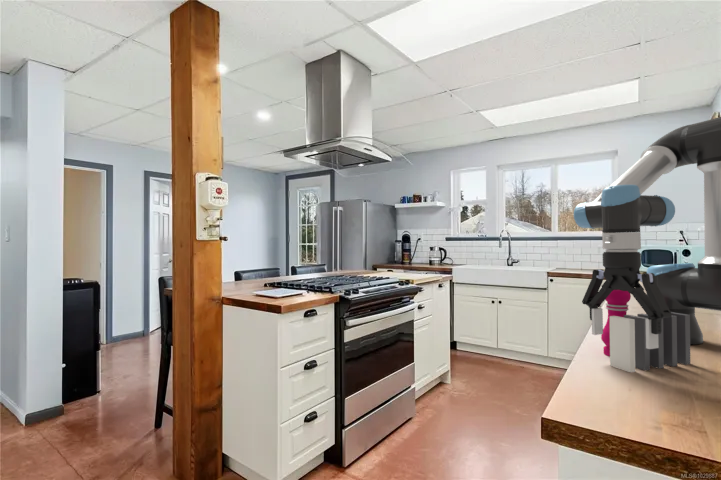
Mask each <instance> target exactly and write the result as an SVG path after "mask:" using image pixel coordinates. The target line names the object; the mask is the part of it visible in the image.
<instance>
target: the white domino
mask: <svg viewBox="0 0 721 480" xmlns="http://www.w3.org/2000/svg"><path fill="white" fill-rule="evenodd" d="M609 366H611V367H613V368H617V369H619V370H623V371H625V372H628V373H635V372H636V368H635V320H634V319H629V318H624V317H618V316H610V356H609Z"/></svg>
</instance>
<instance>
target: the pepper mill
mask: <svg viewBox="0 0 721 480" xmlns="http://www.w3.org/2000/svg"><path fill="white" fill-rule="evenodd" d="M631 295H632V294H630V293H629V292H628V291H621V290H613V291H612V292H611V293H610V294H609V296H608V297H607V298H606V299H605V300H604V301H606V302H607V303H605V309H607V320H606V323H605V325H604V326H603V334H600V336H601V337H600V338H601V341H602V342H603V343H604V345H605V346H603V354H604V355H605V356H607V357H610V316H618V317H624V315H627V311H629V305H628V303H629V302H630V300H631V297H632V296H631Z"/></svg>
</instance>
